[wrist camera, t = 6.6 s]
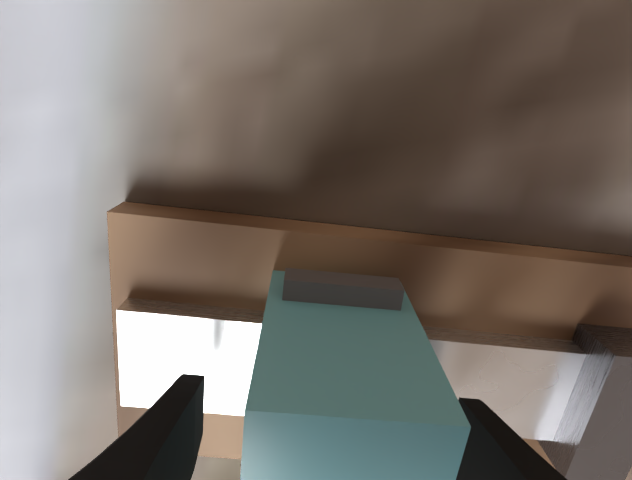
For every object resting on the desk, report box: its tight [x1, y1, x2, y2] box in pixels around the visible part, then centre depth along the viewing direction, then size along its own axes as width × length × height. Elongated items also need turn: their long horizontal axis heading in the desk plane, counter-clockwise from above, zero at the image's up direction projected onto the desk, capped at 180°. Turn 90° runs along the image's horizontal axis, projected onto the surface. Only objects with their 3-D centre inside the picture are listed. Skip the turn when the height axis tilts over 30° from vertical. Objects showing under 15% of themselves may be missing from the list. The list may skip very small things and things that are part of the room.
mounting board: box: [107, 202, 632, 468], centre depth 15 cm, size 18×9×1 cm, turn 83°
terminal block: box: [240, 268, 471, 480], centre depth 11 cm, size 4×7×6 cm, turn 174°
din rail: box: [116, 298, 632, 480], centre depth 13 cm, size 17×5×2 cm, turn 83°
